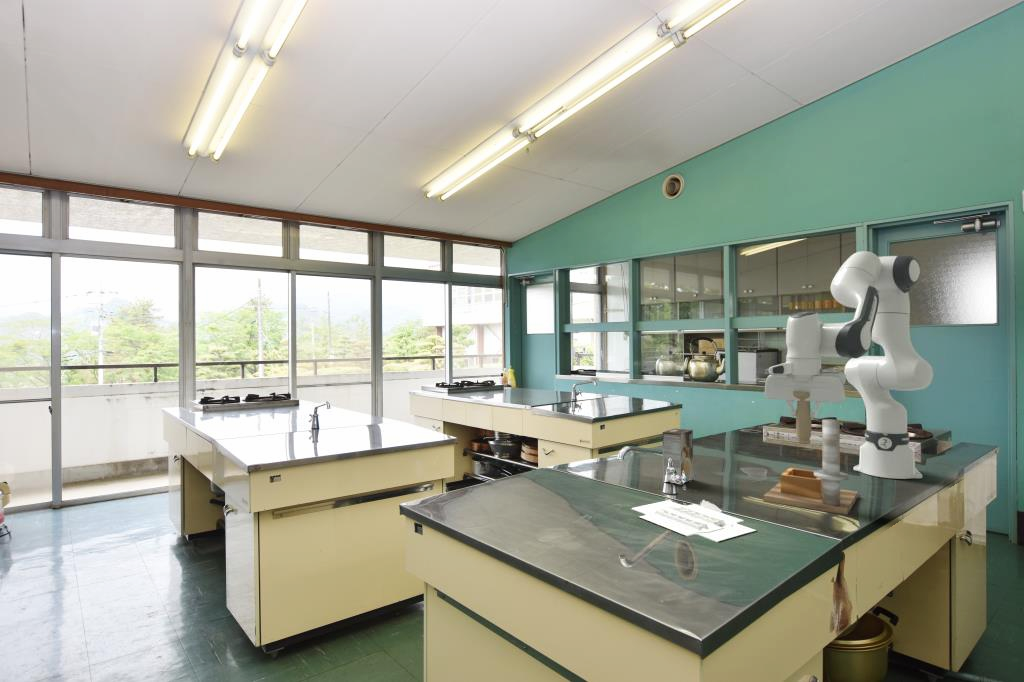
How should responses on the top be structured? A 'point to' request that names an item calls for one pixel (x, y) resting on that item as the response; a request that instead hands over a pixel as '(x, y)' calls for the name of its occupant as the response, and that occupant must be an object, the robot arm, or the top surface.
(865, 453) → the robot arm
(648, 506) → the stacked white papers
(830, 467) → the rosette stand
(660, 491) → the top surface
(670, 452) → the coffee box
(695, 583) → the top surface
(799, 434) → the handle
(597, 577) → the top surface
